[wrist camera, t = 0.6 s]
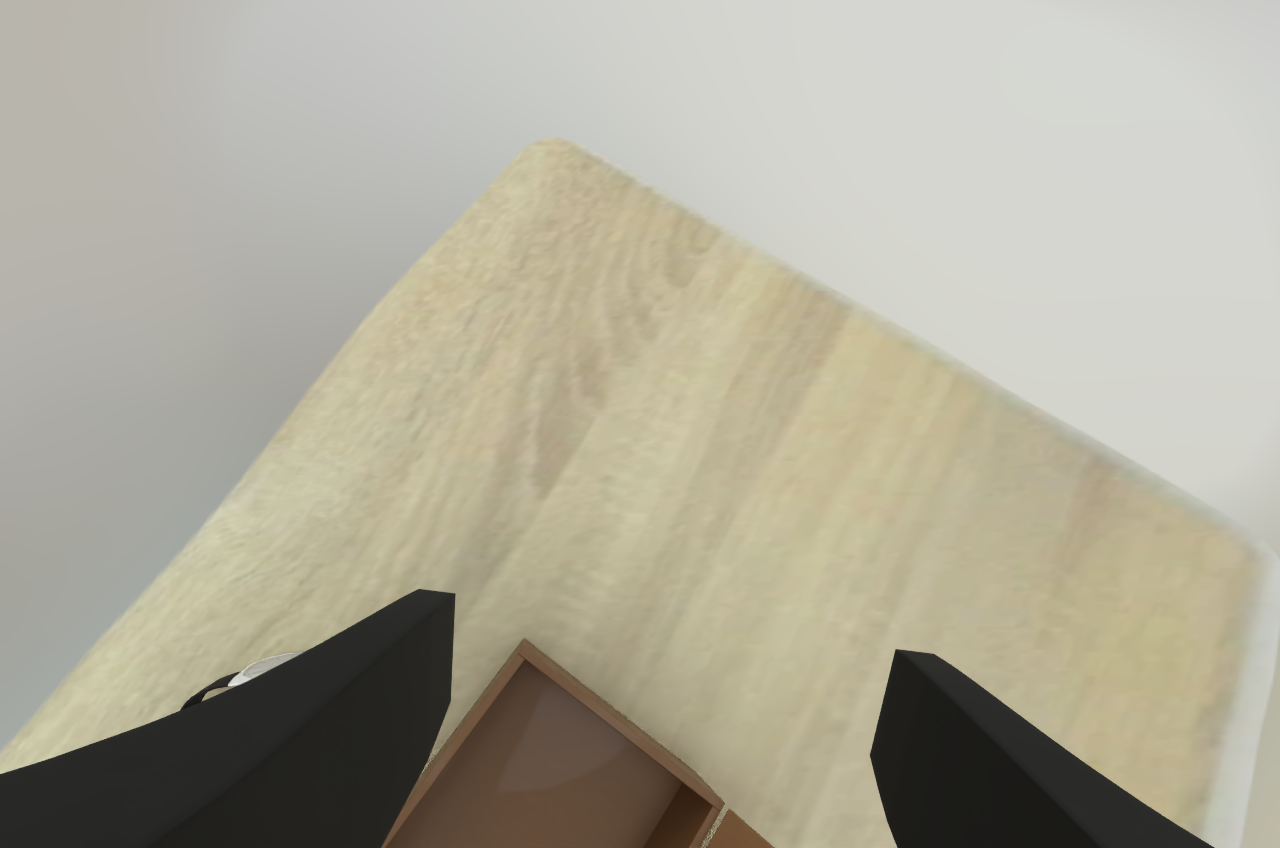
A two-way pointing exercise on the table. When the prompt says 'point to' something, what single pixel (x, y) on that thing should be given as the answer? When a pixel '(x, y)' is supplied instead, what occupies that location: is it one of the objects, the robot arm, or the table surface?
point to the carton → (552, 774)
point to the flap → (736, 834)
